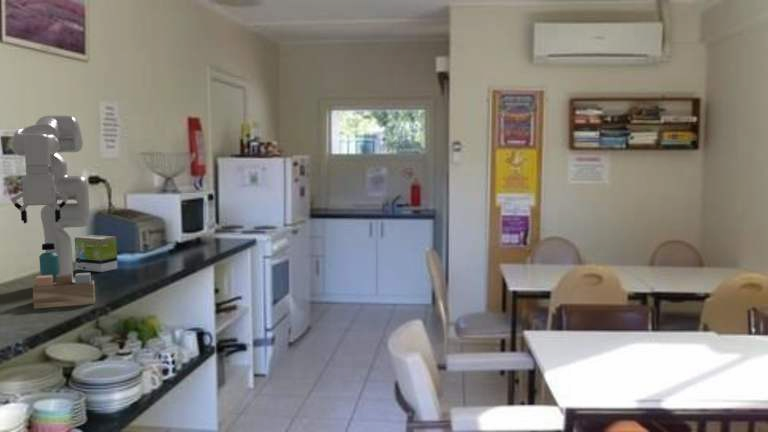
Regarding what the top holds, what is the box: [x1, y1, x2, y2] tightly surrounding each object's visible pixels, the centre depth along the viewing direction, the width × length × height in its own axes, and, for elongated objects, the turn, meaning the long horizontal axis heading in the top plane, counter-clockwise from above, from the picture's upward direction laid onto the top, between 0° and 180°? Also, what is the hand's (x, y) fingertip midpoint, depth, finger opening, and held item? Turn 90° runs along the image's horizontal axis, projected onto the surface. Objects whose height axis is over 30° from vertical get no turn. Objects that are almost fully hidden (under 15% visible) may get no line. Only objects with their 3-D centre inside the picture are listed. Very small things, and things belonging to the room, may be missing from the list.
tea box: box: [74, 234, 118, 273], centre depth 310 cm, size 15×10×15 cm, turn 68°
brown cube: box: [56, 274, 72, 286], centre depth 239 cm, size 5×5×5 cm
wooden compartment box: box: [32, 280, 96, 309], centre depth 240 cm, size 7×19×7 cm, turn 109°
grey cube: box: [74, 272, 92, 285], centre depth 241 cm, size 5×5×5 cm
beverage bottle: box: [38, 242, 60, 283], centre depth 248 cm, size 6×7×20 cm
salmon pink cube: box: [35, 275, 53, 287], centre depth 237 cm, size 5×5×5 cm
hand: (41, 222), depth 235 cm, fingers open, 9 cm apart
